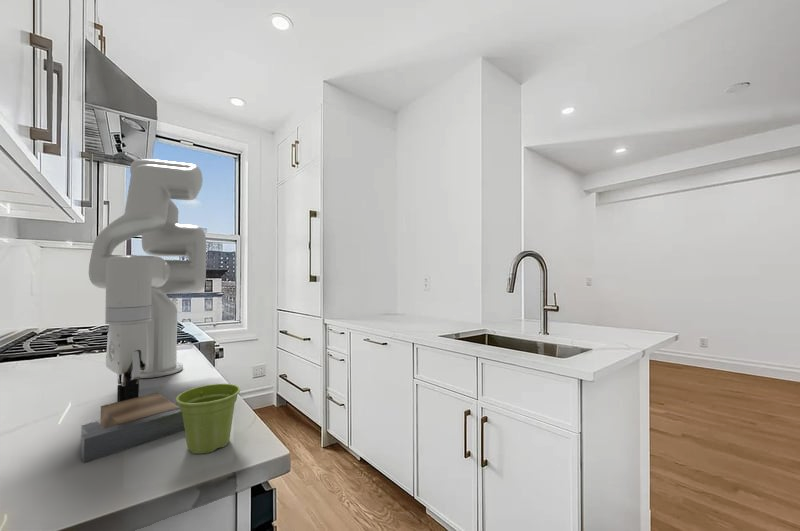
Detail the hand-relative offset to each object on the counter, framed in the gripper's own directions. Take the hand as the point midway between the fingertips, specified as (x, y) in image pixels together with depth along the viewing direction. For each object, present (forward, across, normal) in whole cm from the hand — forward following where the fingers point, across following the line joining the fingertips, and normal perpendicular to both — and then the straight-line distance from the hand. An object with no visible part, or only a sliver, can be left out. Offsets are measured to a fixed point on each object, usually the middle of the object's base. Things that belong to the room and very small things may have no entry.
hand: (128, 403), depth 72 cm
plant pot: (+1, +28, +4) cm, 29 cm away
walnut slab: (+2, +11, -1) cm, 11 cm away
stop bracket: (+1, +15, 0) cm, 15 cm away
